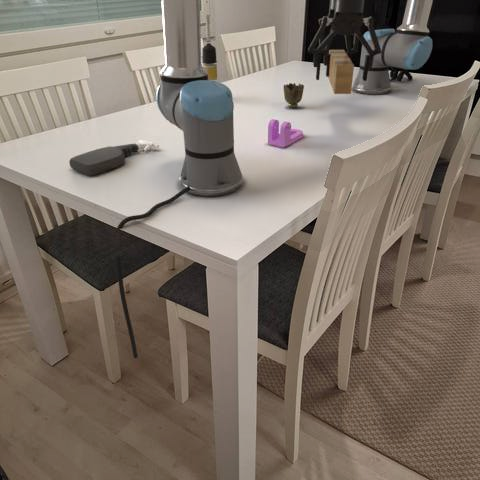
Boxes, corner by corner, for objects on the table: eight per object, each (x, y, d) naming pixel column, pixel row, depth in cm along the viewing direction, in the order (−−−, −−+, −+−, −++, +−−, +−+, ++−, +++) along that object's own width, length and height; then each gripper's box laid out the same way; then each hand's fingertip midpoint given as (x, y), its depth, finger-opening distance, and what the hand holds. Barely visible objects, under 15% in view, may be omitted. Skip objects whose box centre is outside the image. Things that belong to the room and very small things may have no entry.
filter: (220, 99, 177) (217, 15, 161) (206, 100, 176) (202, 16, 160) (215, 96, 182) (212, 14, 166) (202, 97, 180) (197, 14, 164)
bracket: (283, 147, 130) (284, 124, 126) (267, 143, 133) (268, 120, 129) (305, 135, 139) (307, 113, 135) (290, 132, 142) (291, 110, 138)
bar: (350, 94, 130) (354, 65, 125) (334, 94, 130) (336, 65, 126) (341, 74, 151) (343, 49, 147) (327, 74, 151) (329, 49, 147)
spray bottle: (67, 168, 120) (139, 144, 136) (91, 178, 114) (163, 151, 130) (65, 157, 118) (137, 134, 134) (89, 167, 112) (162, 142, 128)
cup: (279, 108, 165) (280, 86, 160) (287, 103, 170) (288, 82, 166) (298, 111, 162) (299, 88, 157) (305, 105, 167) (307, 83, 163)
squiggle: (400, 92, 202) (376, 71, 205) (417, 76, 202) (392, 56, 205) (405, 81, 191) (380, 59, 194) (423, 64, 191) (397, 42, 194)
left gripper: (394, -4, 122) (381, 77, 133) (302, -5, 123) (297, 76, 134) (401, -3, 115) (386, 82, 126) (304, -3, 117) (298, 81, 128)
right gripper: (370, -6, 137) (361, 73, 150) (312, -5, 139) (308, 73, 151) (375, -4, 131) (365, 78, 143) (313, -3, 132) (309, 78, 145)
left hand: (340, 79), depth 130 cm, fingers open, 13 cm apart
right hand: (335, 75), depth 147 cm, fingers closed on bar, 5 cm apart
